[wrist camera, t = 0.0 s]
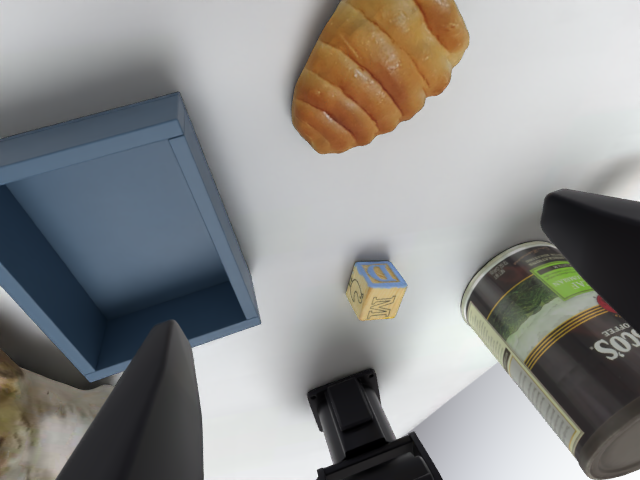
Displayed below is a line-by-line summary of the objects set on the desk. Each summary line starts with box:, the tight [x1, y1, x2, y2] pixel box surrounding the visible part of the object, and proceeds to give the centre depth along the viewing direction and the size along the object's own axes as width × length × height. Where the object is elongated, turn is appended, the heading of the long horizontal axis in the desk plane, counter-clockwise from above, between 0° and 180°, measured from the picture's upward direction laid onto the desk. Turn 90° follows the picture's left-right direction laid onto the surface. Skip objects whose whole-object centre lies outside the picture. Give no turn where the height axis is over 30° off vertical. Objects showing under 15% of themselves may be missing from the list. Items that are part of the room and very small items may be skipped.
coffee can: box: [461, 241, 640, 480], centre depth 30 cm, size 10×10×14 cm
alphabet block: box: [346, 261, 407, 321], centre depth 28 cm, size 3×3×3 cm
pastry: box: [291, 0, 469, 154], centre depth 20 cm, size 9×7×4 cm
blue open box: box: [0, 92, 261, 382], centre depth 21 cm, size 12×10×5 cm
